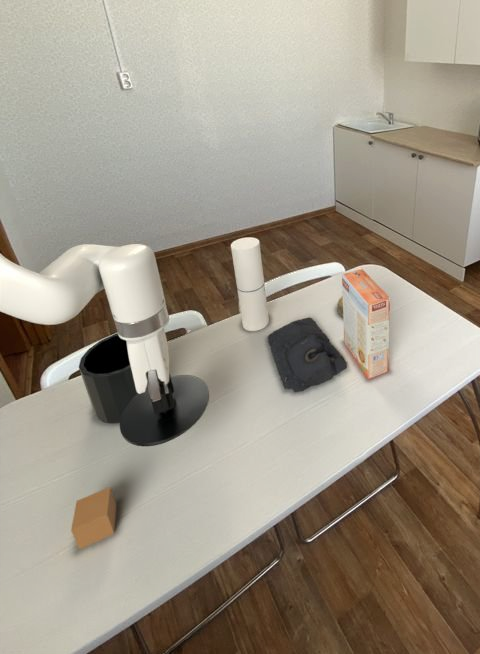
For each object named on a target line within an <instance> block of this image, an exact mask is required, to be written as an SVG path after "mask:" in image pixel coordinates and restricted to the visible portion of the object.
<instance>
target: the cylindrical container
mask: <svg viewBox="0 0 480 654" xmlns="http://www.w3.org/2000/svg"><path fill="white" fill-rule="evenodd" d="M230 249H231V256H232V263H233V269H234V277H235V282H236V290H237V297H238V303H239V309H240V316H241V323H242V327H243V329H245V330H246V331H248V332H255V331H259V330H263V329H265V328H266V327H267V326H268V325H269V322H270V319H269V309H268V300H267V294H266V286H265V285H266V284H265V277H264V269H263V260H262V251H261V244H260V240H259V239H258V238H256V237H251V236H250V237H247V236H246V237H241V238H238V239H235V240H233V241H232V243H231V244H230Z"/></svg>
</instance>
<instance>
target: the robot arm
mask: <svg viewBox="0 0 480 654" xmlns="http://www.w3.org/2000/svg"><path fill="white" fill-rule="evenodd" d="M103 290H104V291H105V295H106V298H107V302H108V305H109V308H110V313H111V315H112V318H113V321H114V325H115V328H116V332H117V333H118V335H119V337H120V338H121V339H123V340H126V342H127V350H128V356H129V361H130V365H131V370H132V374H133V378H134V383H135V387H136V391H137V393H139V394H141V393H144V392H145V390H146V386H148V390H149V394H150V399H151V403H152V407H153V410H154V413H155V414H159V413H161V412H164V411H167V410H170V409H172V408H174V400H173V396H172V393H173V392H174V389H173V384H172V380H171V373H170V354H169V345H168V340H167V334H166V329H165V328H166V327H167V325H168V324H169V322H170V314H169V311H168V306H167V302H166V297H165V293H164V288H163V285H162V281H161V275H160V272H159V267H158V264H157V258H156V255H155V252H154V250H153V249H152V248H151V247H150V246H149V245H146V244H143V243H130V244H125V245H121V246H113V245H103V244H94V243H93V244H92V243H86V244H85V243H84V244H78V245H75V246H72V247H71V248H69V249H67V250H66V251H64V252H63V253H62V254H61V255H60V256H58V257H57V258H56V259H55V260H53V261H52V262H51V263H50V264H48V265H47V266H46V267H45V268H43V269H42V270H41V271H39V273H38V272H36V271H33V270H31V269H28V268H26V267H23V266H22V265H19V264H17V263H15V262H13V261H11V260H10V259H8V258H6V256H4V255H3V254H2V253H0V313H3V314H6V315H8V316H11V317H14V318H17V319H19V320H23V321H26V322H29V323H33V324H36V325H37V324H38V325H45V326H51V325H60V324H64V323H66V322H69V321H71V320H72V319H74V318H75V317H77V316H78V315H79V313H81V311H82V310H83V309H85V307H86V306H87V305H88V304H89V303H90V301H91V300H92V299H93V298H94V297H95V295H96V294H98V293H99V292H101V291H103ZM168 382H169V383H170V387H171V388H170V389H169V388H168V384H167V383H168ZM160 384H163V387H162V388H160ZM171 391H172V392H171Z"/></svg>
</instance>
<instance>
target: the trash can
mask: <svg viewBox="0 0 480 654" xmlns="http://www.w3.org/2000/svg"><path fill="white" fill-rule="evenodd" d="M78 369H79V372H80V376H81V378H82V380H83V385H84V386H85V387H84V388H85V390H86V393H87V395H88V398H89V402H90V404H91V407H92V410H93V412H94V414H95V416H96V418H97V420H99V421H101V422H102V423H106V424H120V419H121V416H122V413H123V411H124V409H125V408H126V406H127V405H128V403H129V402H130V401H131V400H132V399H133V398H134V397H135V396H136V395H137V394H138V393H137V391H136V387H135V383H134V378H133V374H132V370H131V365H130V361H129V356H128V350H127V342H126V340H123V339H121V338H120V337H119V335H118V332H117V333H113V334H111V335H110V336H107V337H104V338H103V339H101V340H98V342H96V343H95V344H94V345H92V346H90V347H89V348H88V349H87V350H86V351H85V353H84V354H83V355H82V356H81V358H80V361H79V364H78ZM146 387H148V386H146Z"/></svg>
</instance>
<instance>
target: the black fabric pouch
mask: <svg viewBox="0 0 480 654" xmlns="http://www.w3.org/2000/svg"><path fill="white" fill-rule="evenodd" d="M267 340H268V344H269V347H270V350H271V354H272V355H271V356H272V358H273V362H274V364H275V367H276V368H277V372H278V375H279V378H280V381H281V383H282V386H283V388H284V389H286V390H290V389H291V390H292V391H293V392H294V393H300V392H304V391H305V390H307V389H309V388H311V387H314V386H318V385H319V386H320V385H321V384H325V382H328V381H330V380H332V379H333V377H335V376H337V375H338V374H339V373H341V372H342V371H344V370H346V369H347V362H346V360H345V358H344V357H343V355H341V353H340V351H338V349H337V347H335V346H334V345H333V344H332V343H331V342H330V339H329V338H328V335H326V334H325V332H323V330H322V329H321V328H320V326H319V325H318V324H317V323H316V321H315V320H314V318H312V317H310V316H308V317H304V318H300V319H297V320H293V321H290V322H289V323H288V324H285V325H283V326H282V327H280V328H278V329H276V330H274V331H273V332H271V333H269V334H268V335H267ZM332 358H333V359H334V360H332Z"/></svg>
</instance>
